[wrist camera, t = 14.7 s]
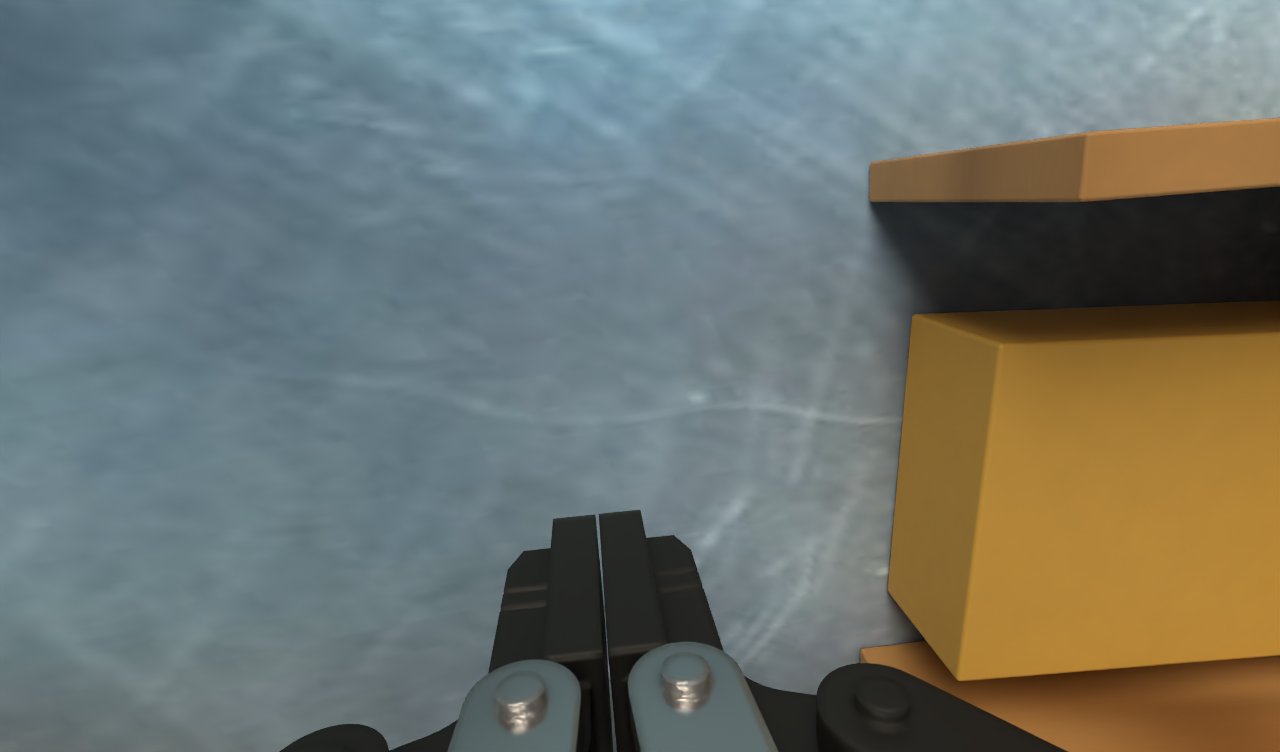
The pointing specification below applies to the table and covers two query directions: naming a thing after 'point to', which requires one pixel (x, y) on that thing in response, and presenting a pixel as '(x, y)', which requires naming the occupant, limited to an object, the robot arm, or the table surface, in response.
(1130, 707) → the book rack
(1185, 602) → the yellow block
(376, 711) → the table surface
